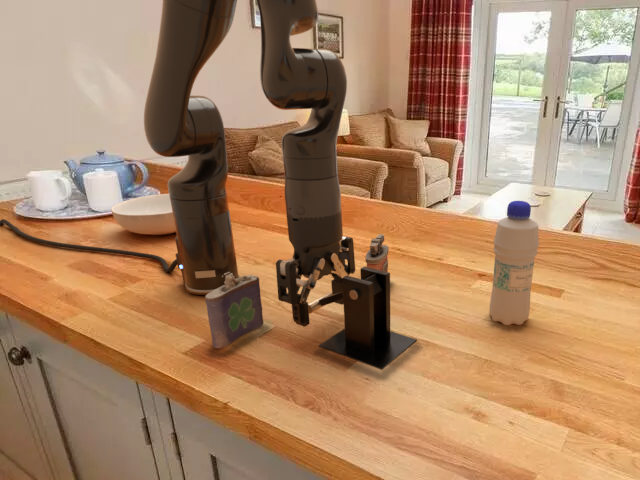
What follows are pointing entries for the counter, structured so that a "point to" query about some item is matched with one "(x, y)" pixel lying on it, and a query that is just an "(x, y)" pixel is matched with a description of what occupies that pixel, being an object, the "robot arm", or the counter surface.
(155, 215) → the serving bowl
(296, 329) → the counter surface
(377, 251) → the lighter
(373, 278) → the lever
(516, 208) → the bottle
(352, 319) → the bracket
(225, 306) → the flask
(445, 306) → the counter surface
